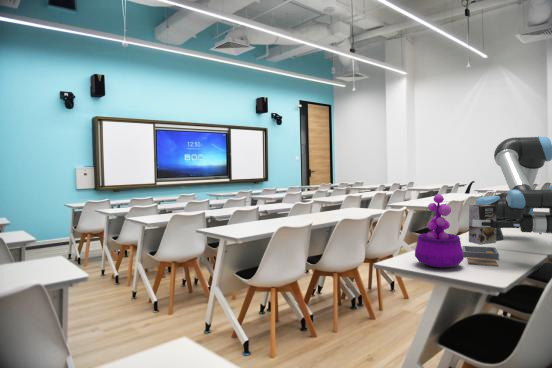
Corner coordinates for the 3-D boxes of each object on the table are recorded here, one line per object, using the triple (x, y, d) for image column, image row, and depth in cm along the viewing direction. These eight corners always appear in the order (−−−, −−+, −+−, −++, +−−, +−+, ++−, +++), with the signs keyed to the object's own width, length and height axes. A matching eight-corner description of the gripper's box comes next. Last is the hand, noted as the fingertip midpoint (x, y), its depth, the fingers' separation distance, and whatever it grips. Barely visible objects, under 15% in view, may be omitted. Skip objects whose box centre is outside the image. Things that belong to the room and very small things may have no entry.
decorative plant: (469, 264, 167) (469, 193, 165) (454, 274, 153) (455, 196, 151) (424, 258, 179) (424, 191, 178) (407, 266, 166) (407, 194, 164)
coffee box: (481, 245, 165) (481, 206, 164) (468, 242, 171) (468, 204, 170) (496, 243, 168) (497, 204, 168) (483, 240, 174) (483, 203, 173)
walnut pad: (467, 258, 178) (467, 256, 178) (495, 260, 173) (495, 258, 173) (468, 264, 168) (468, 262, 168) (498, 266, 163) (498, 264, 163)
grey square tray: (462, 250, 193) (462, 244, 192) (495, 252, 187) (495, 246, 187) (463, 257, 180) (463, 250, 180) (498, 259, 174) (498, 252, 174)
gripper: (538, 237, 152) (473, 234, 160) (526, 228, 173) (470, 226, 181) (538, 217, 151) (473, 215, 160) (526, 210, 172) (470, 209, 181)
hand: (471, 221), depth 171 cm, fingers closed on coffee box, 10 cm apart
